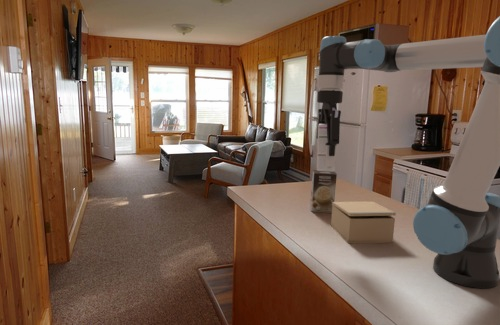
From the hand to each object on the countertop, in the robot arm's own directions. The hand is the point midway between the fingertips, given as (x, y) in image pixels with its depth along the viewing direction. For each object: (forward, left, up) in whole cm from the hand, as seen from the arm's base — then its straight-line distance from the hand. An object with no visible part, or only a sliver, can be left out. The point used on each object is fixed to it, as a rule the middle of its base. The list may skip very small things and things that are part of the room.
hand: (325, 163), depth 114 cm
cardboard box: (+3, -15, -25) cm, 29 cm away
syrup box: (0, 0, -2) cm, 2 cm away
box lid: (+3, -15, -16) cm, 22 cm away
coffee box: (+29, -10, -25) cm, 40 cm away
